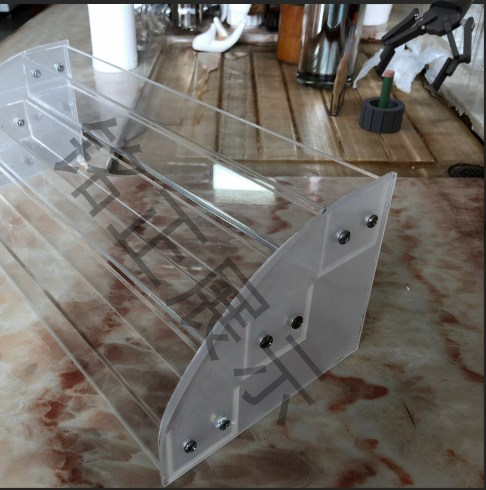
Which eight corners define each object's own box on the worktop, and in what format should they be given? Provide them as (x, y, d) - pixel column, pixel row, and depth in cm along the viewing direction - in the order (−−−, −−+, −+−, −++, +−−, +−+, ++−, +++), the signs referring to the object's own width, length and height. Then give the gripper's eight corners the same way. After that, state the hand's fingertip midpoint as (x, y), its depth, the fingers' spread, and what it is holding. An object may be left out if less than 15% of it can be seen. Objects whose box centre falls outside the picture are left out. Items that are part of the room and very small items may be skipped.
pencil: (386, 126, 130) (397, 71, 123) (379, 128, 129) (390, 73, 123) (379, 123, 132) (389, 69, 125) (372, 125, 131) (382, 70, 124)
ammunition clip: (336, 100, 144) (343, 49, 138) (343, 100, 144) (351, 50, 137) (328, 115, 136) (336, 62, 129) (337, 116, 135) (344, 63, 129)
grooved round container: (408, 127, 129) (413, 105, 126) (381, 136, 125) (385, 113, 123) (378, 115, 135) (382, 94, 132) (350, 123, 132) (354, 101, 129)
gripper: (516, 16, 125) (464, 103, 125) (407, -1, 140) (360, 76, 141) (513, -8, 119) (458, 84, 119) (399, -22, 135) (351, 58, 135)
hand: (405, 80), depth 130 cm, fingers open, 13 cm apart
